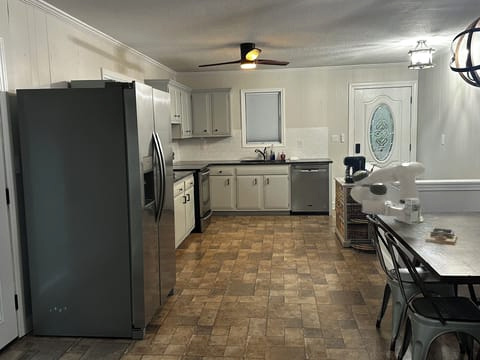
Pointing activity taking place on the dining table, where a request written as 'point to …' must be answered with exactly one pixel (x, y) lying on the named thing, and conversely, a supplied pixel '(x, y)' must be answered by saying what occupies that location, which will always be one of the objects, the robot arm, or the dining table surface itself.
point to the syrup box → (413, 210)
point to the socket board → (449, 240)
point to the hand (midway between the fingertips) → (413, 210)
